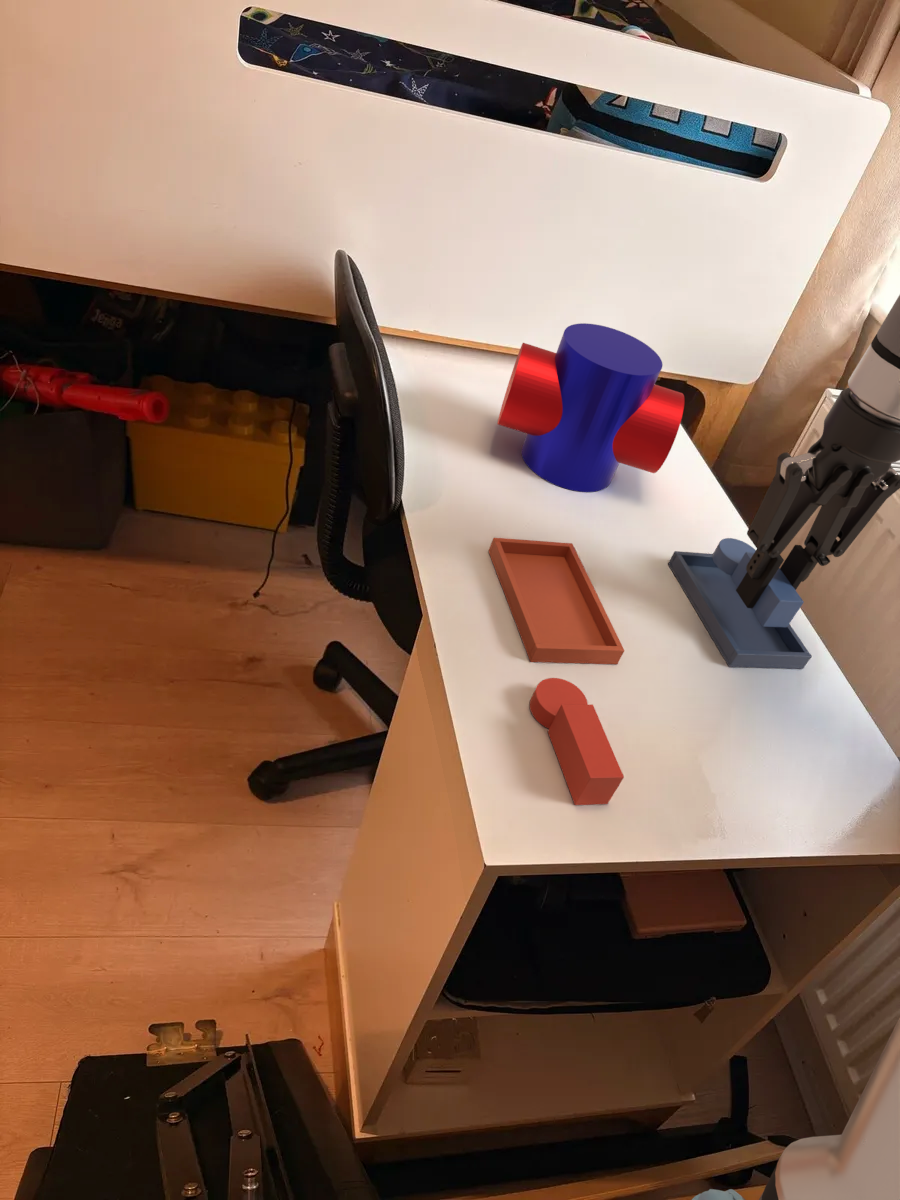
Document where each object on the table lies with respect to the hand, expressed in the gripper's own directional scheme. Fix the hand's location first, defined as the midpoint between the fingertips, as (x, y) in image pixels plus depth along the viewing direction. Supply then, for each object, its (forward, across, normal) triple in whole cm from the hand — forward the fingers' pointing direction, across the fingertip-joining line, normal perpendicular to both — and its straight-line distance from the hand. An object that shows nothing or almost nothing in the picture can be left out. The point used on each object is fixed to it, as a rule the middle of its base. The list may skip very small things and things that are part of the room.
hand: (759, 599), depth 94 cm
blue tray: (+4, 0, -2) cm, 5 cm away
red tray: (+4, +22, -2) cm, 23 cm away
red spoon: (+4, +26, +16) cm, 31 cm away
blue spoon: (0, 0, -2) cm, 2 cm away
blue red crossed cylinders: (+4, +11, -29) cm, 31 cm away
